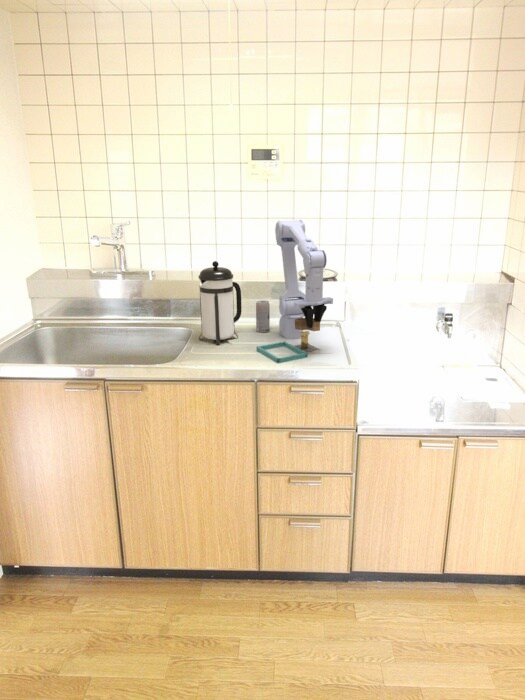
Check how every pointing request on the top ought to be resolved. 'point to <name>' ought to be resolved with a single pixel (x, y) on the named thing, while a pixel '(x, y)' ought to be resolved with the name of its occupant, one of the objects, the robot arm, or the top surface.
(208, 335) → the coffee press
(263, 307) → the energy drink
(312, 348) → the base
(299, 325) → the ring
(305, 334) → the gold t-shaped peg
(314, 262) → the robot arm
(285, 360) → the tray
